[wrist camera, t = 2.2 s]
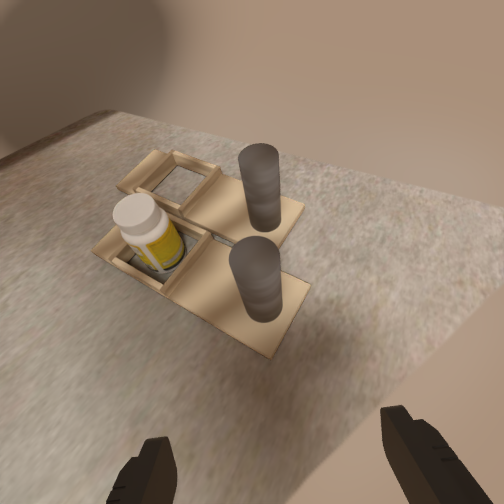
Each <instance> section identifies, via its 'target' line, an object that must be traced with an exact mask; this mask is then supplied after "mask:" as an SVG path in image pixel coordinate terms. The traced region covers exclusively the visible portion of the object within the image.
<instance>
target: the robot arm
mask: <svg viewBox="0 0 504 504" xmlns="http://www.w3.org/2000/svg"><path fill="white" fill-rule="evenodd" d="M380 414H381V427H382V441H383V447H384V451H385V454H386V457H387V459H388V461H389V464H390V466H391V468H392V470H393V472H394V474H395V476H396V478H397V480H398V482H399V484H400V486H401V488H402V489H403V492H404V494H405V496H406V498H407V500H408V502H409V504H493V503H492V501H491V500H490V499H489V497H488V496H487V495H486V493H485V492H484V491H483V489H482V488H481V487H480V485H479V484H478V483H477V482H476V480H475V479H474V478H473V476H472V475H471V474H470V472H469V471H468V470H467V468H466V467H465V466H464V464H463V463H462V462H461V461H460V460H459V459H458V457H457V455H456V454H455V453H454V451H453V450H452V449H451V448H450V447H449V445H448V443H447V442H446V441H445V440H444V438H443V437H442V436H441V434H440V433H439V432H438V430H436V429H435V428H434V427H432V426H431V425H430V424H428V423H427V422H426V421H424V420H423V419H420V420H413V419H412V417H411V416H410V415H409V413H408V412H407V410H406V409H405V407H404V406H402V405H398V406H390V407H383V408H381V409H380ZM176 487H177V467H176V464H175V460H174V456H173V452H172V449H171V445H170V441H169V438H168V437H167V436H165V437H158V438H151V439H146V441H145V442H144V444H143V447H142V449H141V451H140V454H139V456H138V457H132V458H131V459H130V460H129V461H128V462H127V464H126V465H125V466H124V467H123V468H122V470H121V471H120V472H119V475H118V477H117V479H116V481H115V483H114V485H113V489H112V491H111V492H110V494H109V496H108V499H107V501H106V504H173V500H174V496H175V492H176Z"/></svg>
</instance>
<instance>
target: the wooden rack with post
mask: <svg viewBox="0 0 504 504" xmlns="http://www.w3.org/2000/svg"><path fill="white" fill-rule="evenodd" d="M166 213H167V212H166ZM167 215H168V217H169V218H170V220H171V222H172V223H173V225H174V227H175V229H176V230H178V231H180V232H182V233H184V234H186V235H188V236H190V237H192V238H195V239H197V240H199V241H198V242H197V243H196V245H195V246H194V247H193V248H192V250H191V251H190V252H189V253H188V255H187V256H186V257H185V258H184V260H183V261H182V262H181V263H180V265H179V266H178V267H177V269H176V270H175V271H174V272H173V274H172V275H171V276H170V277H169V279H168V280H167V281H166V282H165V284H164V285H163V284H161V283H159V282H157V281H156V280H154V279H152V278H151V277H149V276H147V275H145V274H144V273H142V272H140V271H139V270H137V269H135V268H134V267H132V266H130V265H128V264H127V262H128V261H129V260H130V259H131V258H132V257H133V256H134V254H135V252H134V251H133V249H132V248H131V247H130V246H129V245H128V244H127V243H126V242H125V240H124V239H123V237H122V235H121V230H120V229H119V227H118V226H117V224H116V225H115V226H114V227H113V228H112V229H111V230H110V231H109V232H108V233H107V234H106V235H105V236H104V237H103V238H102V239H101V241H100V242H99V243H98V244H97V245H96V246H95V247H94V248H93V249H92V250H91V252H92V253H94V254H95V255H96V256H98V257H100V258H101V259H103V260H105V261H106V262H108V263H110V264H111V265H113V266H115V267H116V268H118V269H120V270H121V271H123V272H125V273H126V274H128V275H130V276H131V277H133V278H135V279H136V280H138V281H140V282H141V283H143V284H145V285H146V286H148V287H150V288H151V289H153V290H155V291H156V292H158V293H160V294H161V295H163V296H165V297H166V298H168V299H170V300H171V301H173V302H175V303H176V304H178V305H180V306H181V307H183V308H185V309H186V310H188V311H190V312H191V313H193V314H195V315H196V316H198V317H200V318H201V319H203V320H205V321H206V322H208V323H210V324H211V325H213V326H215V327H216V328H218V329H220V330H221V331H223V332H224V333H226V334H228V335H229V336H231V337H233V338H234V339H236V340H238V341H239V342H241V343H243V344H244V345H246V346H248V347H249V348H251V349H253V350H254V351H256V352H258V353H259V354H261V355H263V356H264V357H266V358H268V359H269V360H272V358H273V356H274V354H275V353H276V351H277V349H278V347H279V345H280V343H281V341H282V340H283V338H284V336H285V334H286V332H287V330H288V329H289V327H290V325H291V323H292V321H293V319H294V318H295V316H296V314H297V312H298V310H299V308H300V306H301V305H302V303H303V301H304V299H305V297H306V295H307V294H308V292H309V290H310V287H311V285H310V284H308V283H306V282H304V281H302V280H299V279H297V278H295V277H293V276H291V275H289V274H287V273H285V272H282V271H281V266H280V253H279V249H278V247H277V246H276V244H275V243H274V242H273V241H271V240H270V239H268V238H266V237H262V236H249V237H246V238H243V239H241V240H240V241H238V242H237V243H236V244H235V245H234V246H233V247H232V248H231V247H229V246H227V245H225V244H223V243H221V242H219V241H216V240H214V239H213V237H212V234H211V233H210V232H208V231H206V230H204V229H201V228H199V227H197V226H195V225H193V224H191V223H188V222H186V221H184V220H182V219H180V218H178V217H175V216H173V215H171V214H169V213H167Z"/></svg>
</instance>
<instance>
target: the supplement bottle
mask: <svg viewBox="0 0 504 504" xmlns="http://www.w3.org/2000/svg"><path fill="white" fill-rule="evenodd" d="M113 220H114V222H115V223H116V224H117V226H118V227H119V229H120V230H121V235H122V237H123V239H124V240H125V242H126V243H127V244H128V245H129V246H130V247H131V248H132V249H133V251H134V252H135V253H136V254H137V255H138V256H139V258H140V259H141V260H142V261H143V262H144V263H145V264H146V266H147V267H148V268H149V269H150V270H152V271H153V272H156V273H168V272H171V271H174V270H175V269H177V267H178V266H179V265H180V263H181V262H182V261H183V260H184V258H185V257H186V247H185V244H184V242H183V241H182V239H181V238H180V236H179V234H178V232H177V230H176V229H175V227H174V225H173V223H172V222H171V220H170V218H169V217H168V215H167V213H166V212H165V211H164V210H163V209H162V208H160V207H158V205H157V204H156V202H155V201H154V199H153V198H152V197H151V196H150V195H148V194H145V193H135V194H131V195H128V196H126V197H125V198H123V199H122V200H120V201H119V202H118V203H117V205H116V206H115V208H114V210H113Z"/></svg>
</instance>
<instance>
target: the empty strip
mask: <svg viewBox="0 0 504 504" xmlns="http://www.w3.org/2000/svg"><path fill="white" fill-rule="evenodd" d="M238 161H239V167H240V172H241V177H242V181H240V180H237V179H234V178H232V177H229V176H226V175H224V174H222V172H221V168H220V167H219V166H216V165H213V164H211V163H208V162H205V161H202V160H199V159H197V158H194V157H191V156H188V155H185V154H183V153H180V152H177V151H174V150H171V151H170V152H169V153H168V154H166V153H163V152H161V151H158V150H155V149H154V150H153V151H152V152H151V153H150V154H149V155H148V156H147V157H146V158H145V159H144V160H143V161H142V162H140V163H139V164H138V165H137V166H136V167H135V168H134V169H133V170H132V171H131V172H130V173H129V174H128V175H127V176H126V177H125V178H123V179H122V180H121V181H120V182H119V183H118V184H117V185H116V187H117V188H118V190H120V191H122V192H124V193H126V194H129V195H131V194H135V193H145V194H148V195H150V196H151V197H152V198H153V199H154V201H155V202H156V204H157V205H158V207H160V208H162V209H163V210H164V211H165V212H168V213H170V214H172V215H174V216H176V217H178V218H181V219H183V220H185V221H187V222H189V223H191V224H194V225H196V226H198V227H200V228H202V229H204V230H207V231H209V232H211V233H213V234H215V235H217V236H220V237H222V238H224V239H226V240H228V241H230V242H233V243H235V244H236V243H237V242H238V241H240V240H241V239H243V238H246V237H249V236H262V237H266V238H268V239H270V240H271V241H273V242H274V243H275V244H276V246H277V247H278V249H279V248H280V247H281V245H282V244H283V242H284V240H285V239H286V237H287V236H288V234H289V233H290V231H291V230H292V228H293V226H294V225H295V223H296V222H297V220H298V219H299V217H300V215H301V214H302V212H303V211H304V209H305V204H303V203H300V202H297V201H295V200H292V199H289V198H286V197H284V196H281V195H280V174H279V154H278V151H277V150H276V148H274V147H273V146H271V145H268V144H264V143H263V144H262V143H259V144H253V145H250V146H248V147H246V148H244V149H243V150H242V151H241V152H240V154H239V156H238ZM177 165H179V166H181V167H184V168H186V169H189V170H192V171H194V172H197V173H200V174H202V175H205V176H207V177H206V178H205V179H204V180H203V181H202V182H201V183H200V184H199V186H198V187H197V188H196V189H195V190H194V191H193V192H192V193H191V195H190V196H189V197H188V198H187V199H186V200H185V201H184V202H183V204H182V205H179V204H176V203H174V202H172V201H170V200H167V199H165V198H163V197H160V196H158V195H156V194H154V193H151V191H152V190H153V189H154V188H155V187H156V186H157V185H158V184H159V183H160V182H161V181H162V180H163V179H164V178H165V177H166V176H167V175H168V174H169V173H170V172H171V171H172V170H173V169H174V168H175V167H176V166H177Z"/></svg>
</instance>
